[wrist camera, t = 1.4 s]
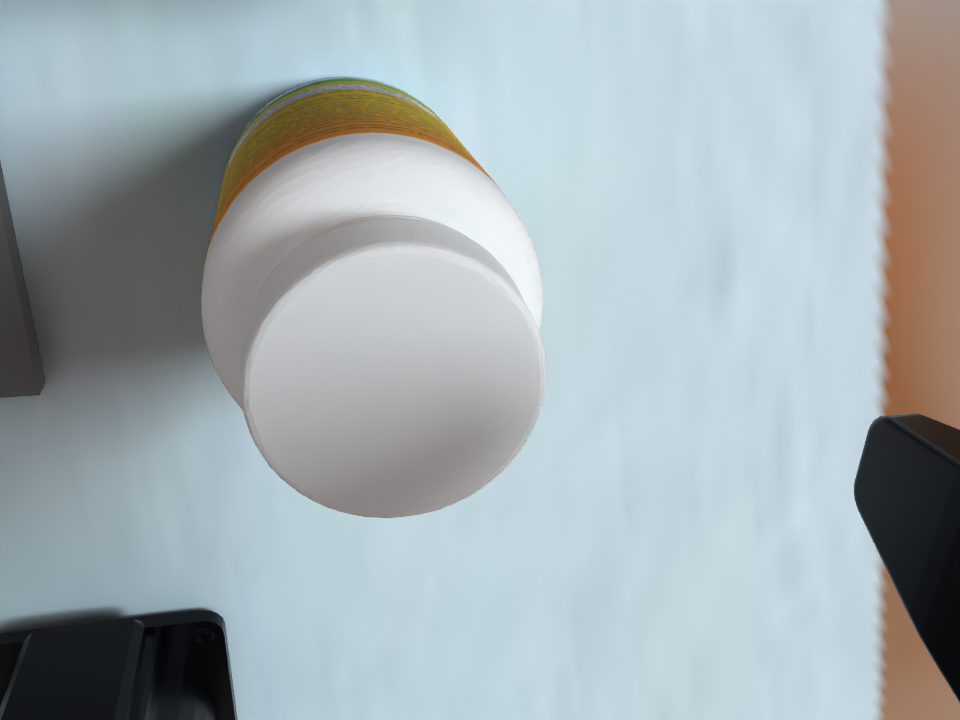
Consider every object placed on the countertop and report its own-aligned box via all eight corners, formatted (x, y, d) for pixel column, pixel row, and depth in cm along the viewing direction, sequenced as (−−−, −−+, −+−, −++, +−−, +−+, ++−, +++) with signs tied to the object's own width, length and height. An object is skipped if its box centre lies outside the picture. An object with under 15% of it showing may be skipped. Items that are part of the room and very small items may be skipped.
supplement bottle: (169, 163, 19) (80, 348, 11) (383, 21, 19) (470, 95, 10) (317, 352, 22) (342, 627, 13) (509, 230, 21) (663, 430, 13)
